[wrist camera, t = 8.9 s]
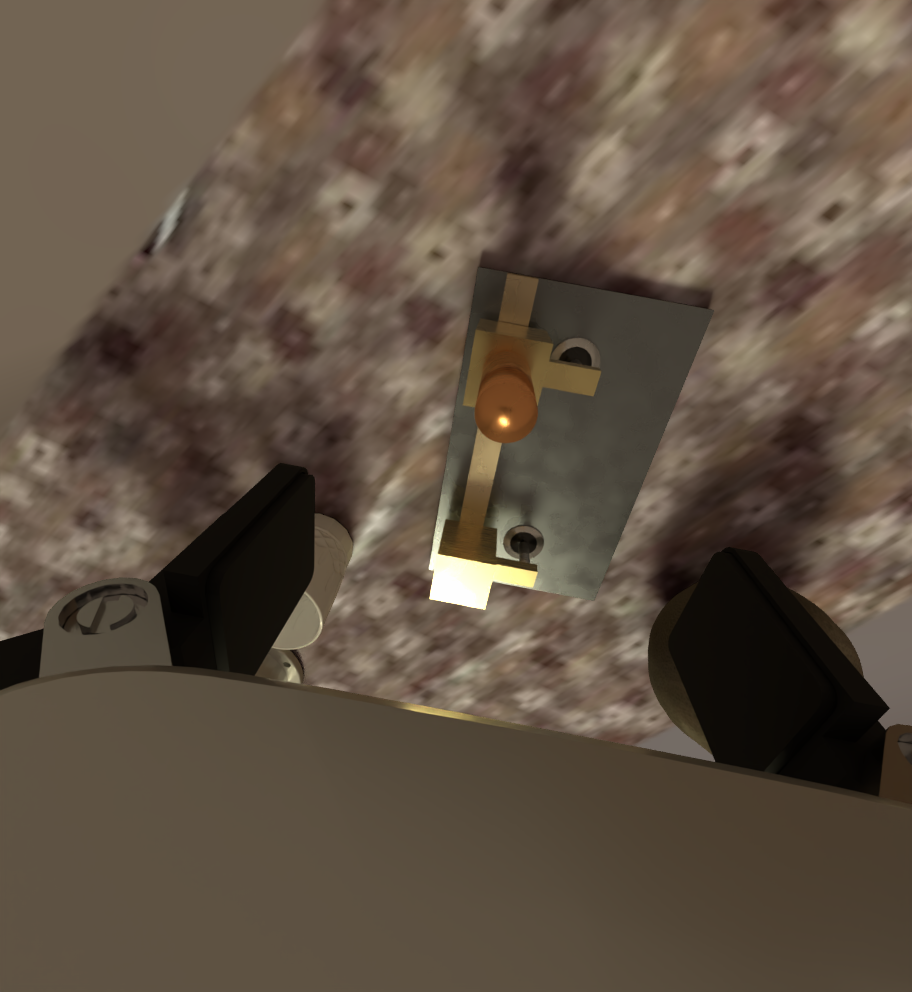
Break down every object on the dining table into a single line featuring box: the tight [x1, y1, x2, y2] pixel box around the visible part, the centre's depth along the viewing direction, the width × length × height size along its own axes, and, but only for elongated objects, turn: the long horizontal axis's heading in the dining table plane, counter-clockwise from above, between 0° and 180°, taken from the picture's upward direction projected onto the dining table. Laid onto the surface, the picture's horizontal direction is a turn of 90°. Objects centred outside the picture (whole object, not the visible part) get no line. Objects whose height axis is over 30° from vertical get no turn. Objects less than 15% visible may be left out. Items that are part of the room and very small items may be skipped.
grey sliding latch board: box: [429, 267, 714, 609], centre depth 33 cm, size 26×16×8 cm, turn 171°
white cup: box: [272, 513, 353, 650], centre depth 39 cm, size 8×8×10 cm
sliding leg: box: [463, 318, 601, 443], centre depth 26 cm, size 4×8×14 cm, turn 81°
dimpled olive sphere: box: [648, 583, 864, 754], centre depth 36 cm, size 14×14×15 cm
